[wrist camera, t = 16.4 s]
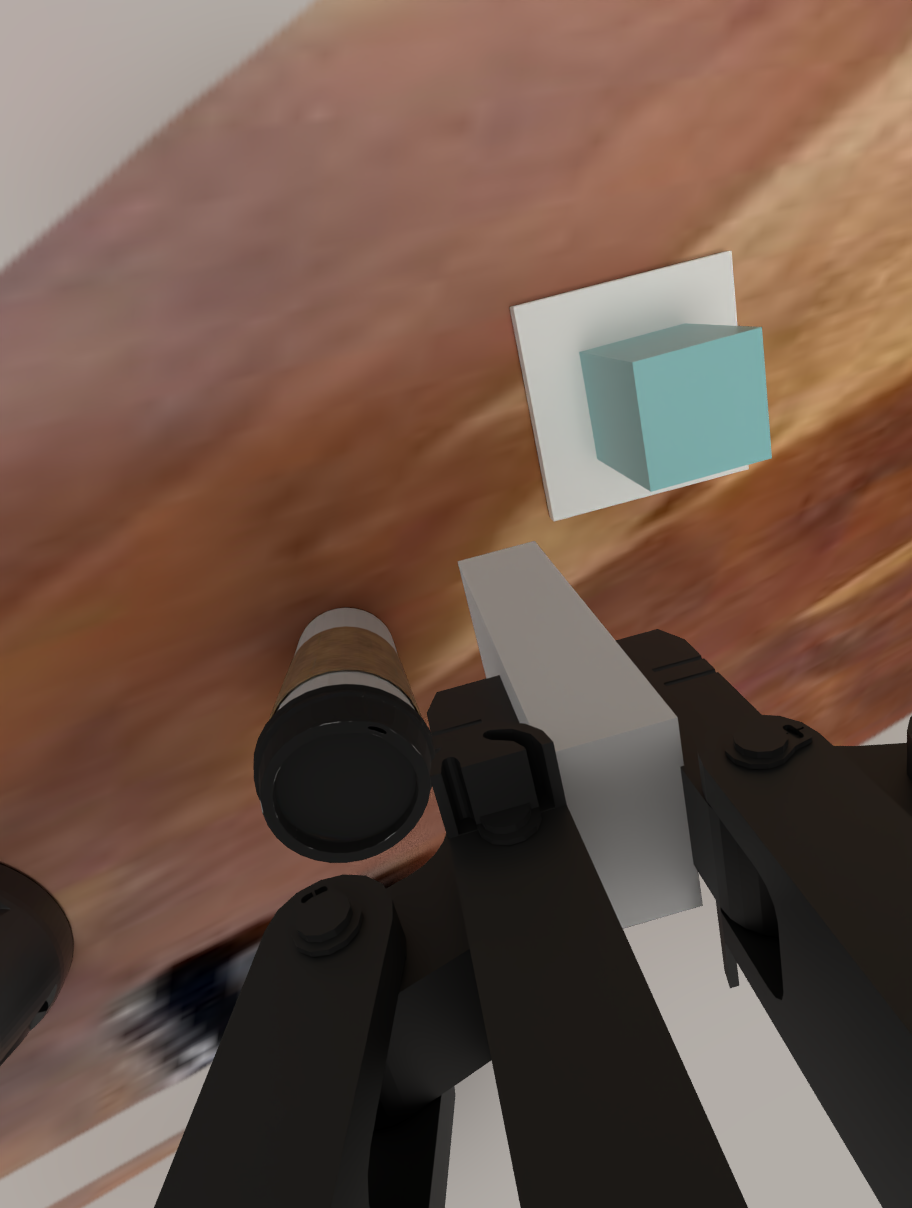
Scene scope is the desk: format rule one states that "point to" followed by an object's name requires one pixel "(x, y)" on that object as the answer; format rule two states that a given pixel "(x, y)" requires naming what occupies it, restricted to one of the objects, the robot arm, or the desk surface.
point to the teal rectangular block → (679, 403)
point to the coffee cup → (344, 744)
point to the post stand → (591, 321)
